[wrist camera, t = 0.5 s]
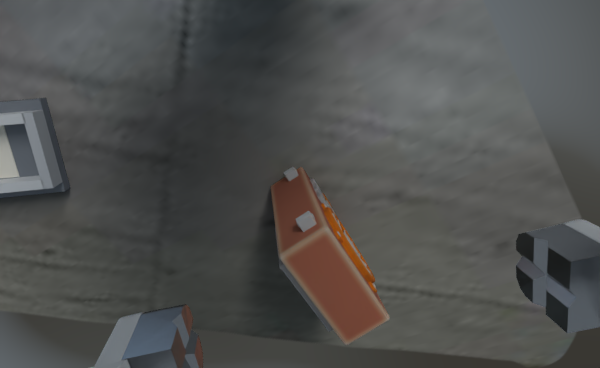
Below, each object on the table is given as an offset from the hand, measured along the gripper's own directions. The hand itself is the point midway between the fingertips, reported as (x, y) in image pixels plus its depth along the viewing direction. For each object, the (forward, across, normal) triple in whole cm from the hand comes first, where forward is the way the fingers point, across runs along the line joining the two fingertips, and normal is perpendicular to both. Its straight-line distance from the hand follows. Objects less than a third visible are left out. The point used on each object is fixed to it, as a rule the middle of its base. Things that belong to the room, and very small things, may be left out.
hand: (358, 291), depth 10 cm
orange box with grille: (+46, -2, +17) cm, 49 cm away
